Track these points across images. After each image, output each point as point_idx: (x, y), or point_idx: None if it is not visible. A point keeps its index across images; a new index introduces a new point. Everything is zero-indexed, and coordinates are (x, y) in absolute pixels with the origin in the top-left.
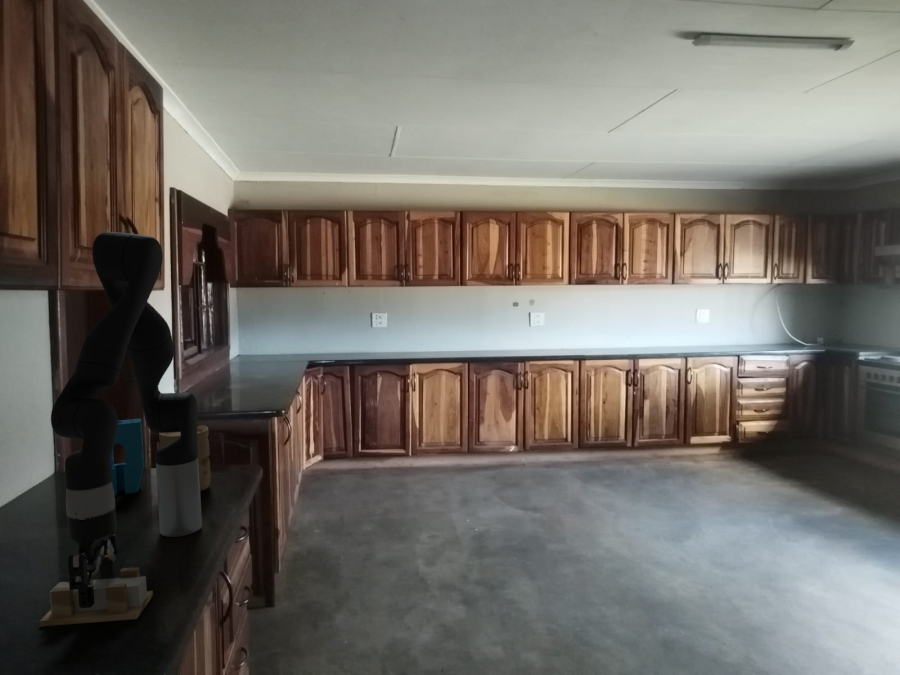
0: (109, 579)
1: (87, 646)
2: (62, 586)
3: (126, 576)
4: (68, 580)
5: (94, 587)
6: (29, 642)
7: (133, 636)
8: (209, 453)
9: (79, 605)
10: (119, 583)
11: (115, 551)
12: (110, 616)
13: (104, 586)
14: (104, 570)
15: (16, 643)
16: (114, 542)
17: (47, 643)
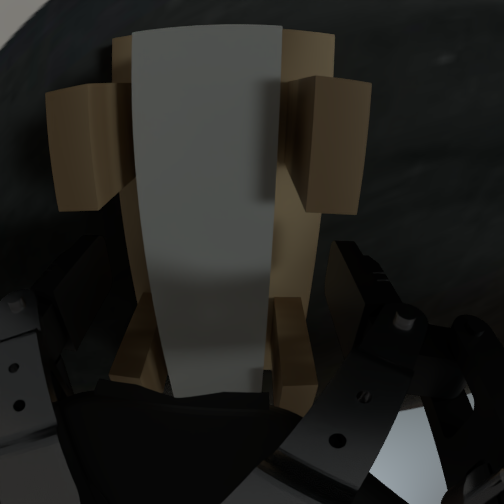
0: (256, 333)
1: (28, 271)
2: (206, 76)
3: (277, 382)
4: (308, 77)
5: (168, 293)
6: (32, 77)
7: (83, 356)
8: None
9: (80, 238)
10: (204, 379)
11: (423, 400)
12: (138, 300)
13: (177, 334)
14: (346, 301)
15: (33, 37)
16: (441, 456)
17: (25, 144)
